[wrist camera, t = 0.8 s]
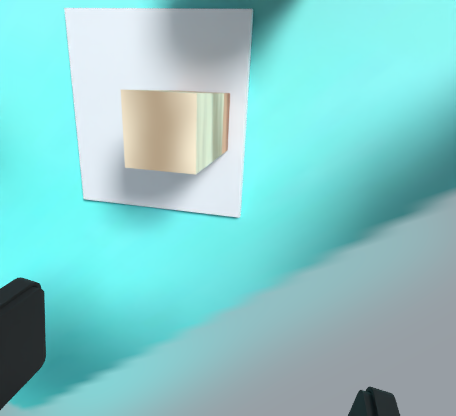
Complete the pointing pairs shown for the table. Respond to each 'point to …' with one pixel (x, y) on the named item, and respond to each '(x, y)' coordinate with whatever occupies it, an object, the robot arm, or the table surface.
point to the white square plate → (157, 80)
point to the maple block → (174, 129)
